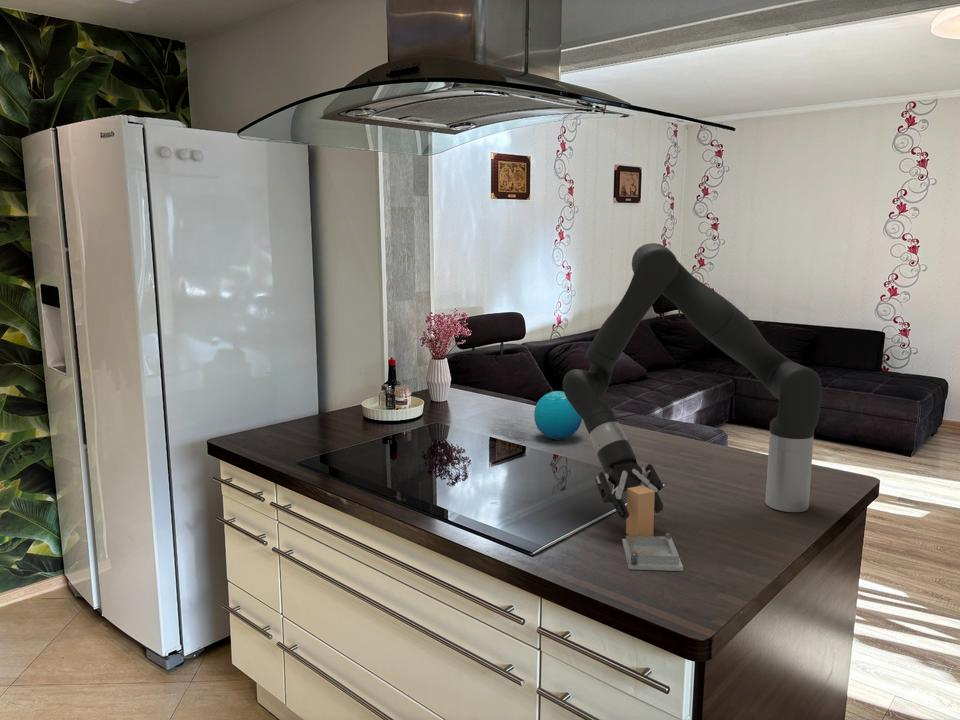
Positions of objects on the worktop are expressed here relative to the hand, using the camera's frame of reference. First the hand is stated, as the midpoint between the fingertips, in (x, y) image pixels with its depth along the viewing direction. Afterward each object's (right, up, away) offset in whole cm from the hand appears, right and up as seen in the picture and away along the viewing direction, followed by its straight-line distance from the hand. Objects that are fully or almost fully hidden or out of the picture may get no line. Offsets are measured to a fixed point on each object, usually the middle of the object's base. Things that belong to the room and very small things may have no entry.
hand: (643, 514), depth 147 cm
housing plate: (0, -6, -8) cm, 10 cm away
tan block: (0, -5, +2) cm, 5 cm away
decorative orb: (-10, +7, +74) cm, 75 cm away
